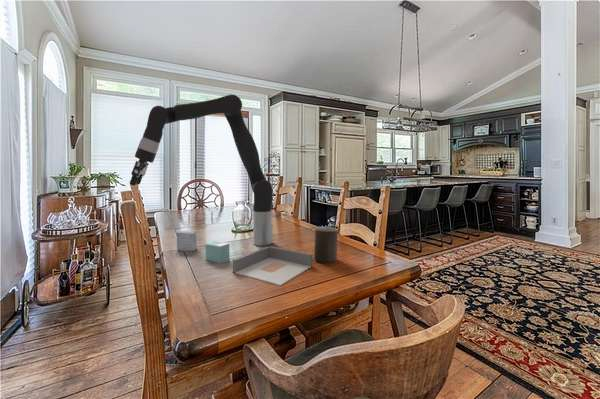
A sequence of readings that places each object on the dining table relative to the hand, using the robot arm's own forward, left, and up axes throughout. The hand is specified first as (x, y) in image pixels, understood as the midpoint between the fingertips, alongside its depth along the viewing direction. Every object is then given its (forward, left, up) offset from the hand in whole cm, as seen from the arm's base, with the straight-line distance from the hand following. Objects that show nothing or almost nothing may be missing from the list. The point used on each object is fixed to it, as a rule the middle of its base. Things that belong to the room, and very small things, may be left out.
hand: (134, 184), depth 124 cm
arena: (-18, +63, -31) cm, 73 cm away
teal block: (-14, +36, -32) cm, 50 cm away
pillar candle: (-39, +75, -32) cm, 90 cm away
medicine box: (-16, +13, -32) cm, 38 cm away
